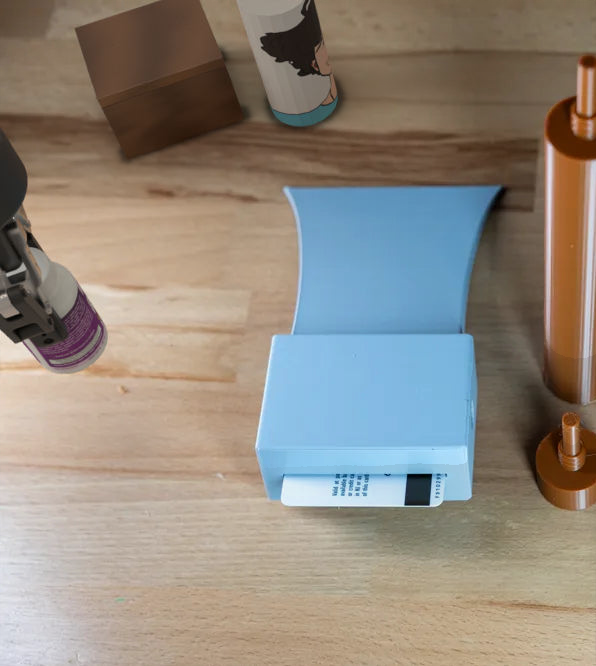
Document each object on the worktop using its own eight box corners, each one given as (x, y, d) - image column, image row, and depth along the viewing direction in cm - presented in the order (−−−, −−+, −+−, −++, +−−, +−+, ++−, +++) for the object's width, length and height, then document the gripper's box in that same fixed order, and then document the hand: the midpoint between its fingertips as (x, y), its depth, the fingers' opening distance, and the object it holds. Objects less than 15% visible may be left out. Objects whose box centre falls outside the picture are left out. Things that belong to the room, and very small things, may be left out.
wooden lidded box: (128, 162, 115) (96, 99, 107) (106, 92, 120) (74, 27, 112) (246, 121, 117) (222, 57, 109) (218, 55, 122) (194, -12, 114)
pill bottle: (122, 322, 86) (76, 247, 78) (89, 384, 84) (37, 313, 75) (57, 305, 87) (4, 230, 79) (22, 366, 85) (-37, 295, 76)
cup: (346, 117, 117) (317, 3, 104) (280, 137, 116) (243, 24, 103) (329, 70, 120) (299, -46, 107) (265, 89, 119) (227, -26, 106)
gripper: (-151, 80, 69) (-27, 244, 84) (-120, 267, 62) (9, 410, 77) (-24, 40, 70) (77, 209, 85) (21, 219, 63) (122, 370, 78)
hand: (44, 304), depth 81 cm, fingers closed on pill bottle, 5 cm apart
